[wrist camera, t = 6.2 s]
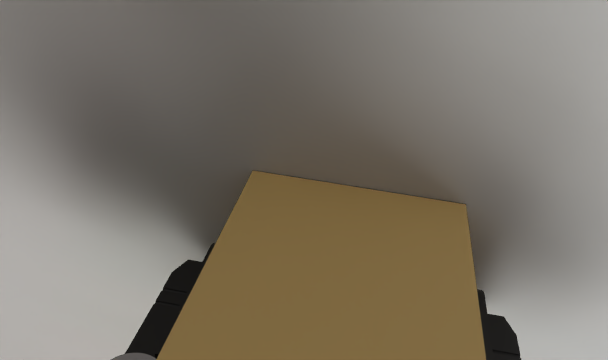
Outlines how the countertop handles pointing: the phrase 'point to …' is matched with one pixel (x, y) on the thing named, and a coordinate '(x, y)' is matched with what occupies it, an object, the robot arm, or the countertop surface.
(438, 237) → the ochre block
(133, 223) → the countertop surface
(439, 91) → the countertop surface
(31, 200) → the countertop surface
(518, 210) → the countertop surface
